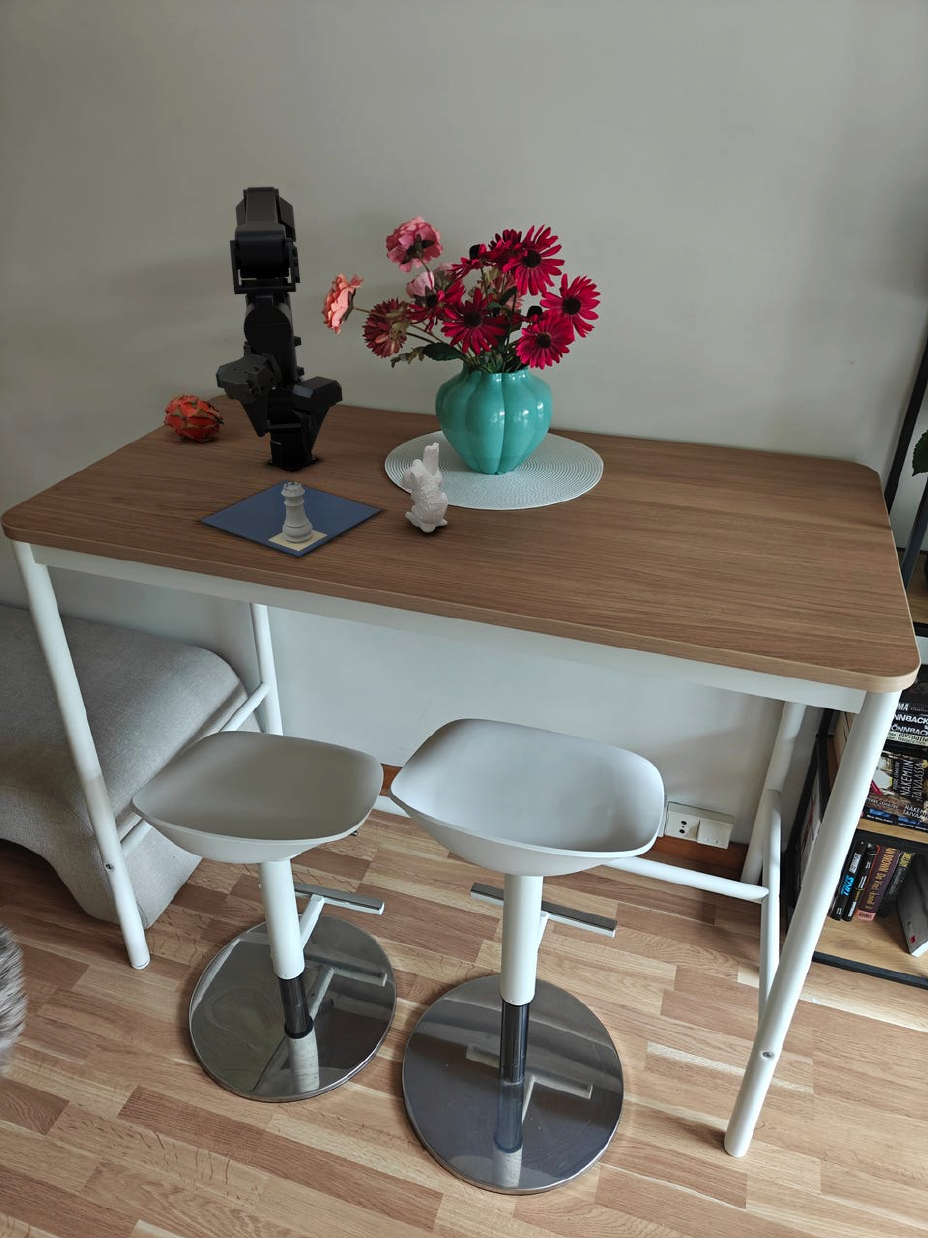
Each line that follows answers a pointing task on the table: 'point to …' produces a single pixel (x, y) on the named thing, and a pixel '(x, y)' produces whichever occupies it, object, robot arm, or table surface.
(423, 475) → the white bunny statuette
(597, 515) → the table surface
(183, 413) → the dragon fruit
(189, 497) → the table surface
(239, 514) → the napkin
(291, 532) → the rook chess piece
